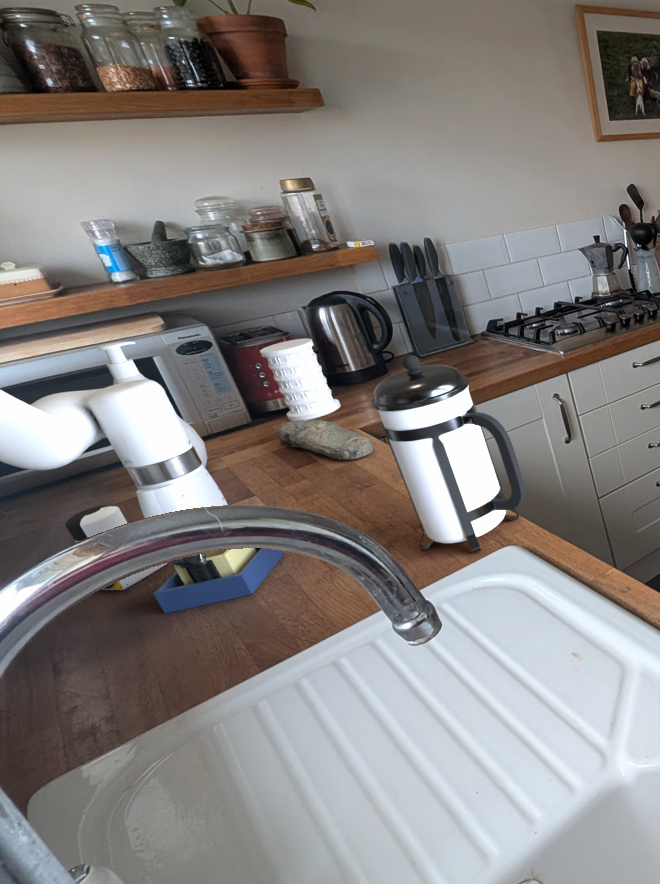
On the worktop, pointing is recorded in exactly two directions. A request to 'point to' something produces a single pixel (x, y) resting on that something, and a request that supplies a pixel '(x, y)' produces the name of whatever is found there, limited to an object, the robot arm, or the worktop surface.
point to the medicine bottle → (99, 522)
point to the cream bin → (223, 562)
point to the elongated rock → (325, 439)
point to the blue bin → (217, 584)
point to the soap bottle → (128, 372)
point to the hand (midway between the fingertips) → (223, 570)
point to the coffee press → (446, 453)
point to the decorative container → (300, 379)
